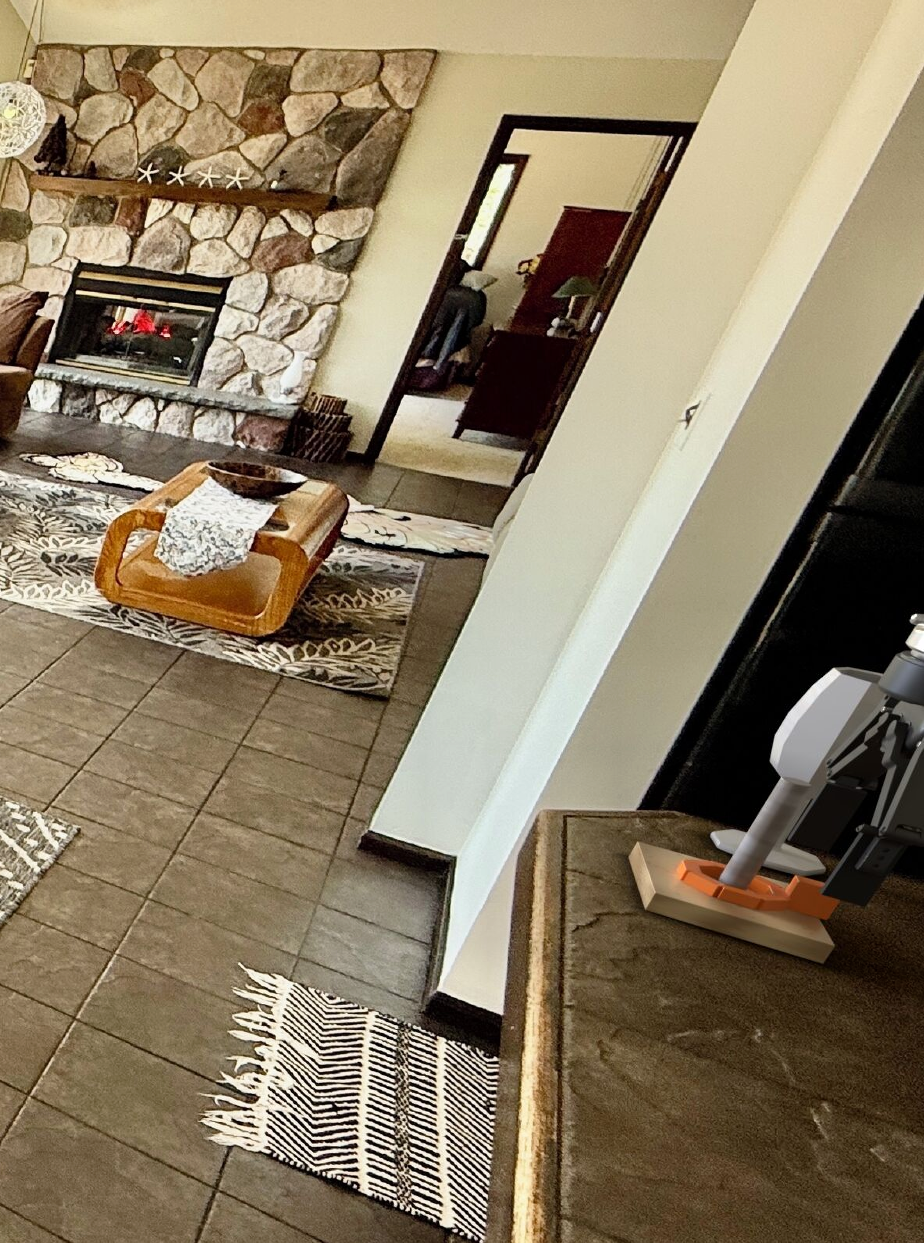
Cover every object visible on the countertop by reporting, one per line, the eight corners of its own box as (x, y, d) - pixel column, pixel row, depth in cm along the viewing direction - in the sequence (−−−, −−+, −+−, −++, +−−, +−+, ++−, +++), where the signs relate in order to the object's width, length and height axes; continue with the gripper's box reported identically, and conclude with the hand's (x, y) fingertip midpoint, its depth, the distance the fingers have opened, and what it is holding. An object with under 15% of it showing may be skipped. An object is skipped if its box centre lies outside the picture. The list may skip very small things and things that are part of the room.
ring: (815, 902, 113) (833, 875, 111) (834, 933, 107) (852, 905, 106) (672, 861, 118) (687, 836, 117) (683, 889, 113) (699, 862, 112)
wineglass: (829, 865, 125) (947, 686, 116) (815, 886, 120) (936, 701, 112) (716, 829, 131) (820, 656, 123) (699, 847, 126) (806, 669, 118)
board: (789, 903, 116) (870, 780, 110) (823, 964, 106) (913, 831, 100) (628, 857, 123) (696, 738, 117) (644, 909, 113) (720, 782, 107)
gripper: (864, 619, 112) (743, 811, 120) (945, 686, 94) (796, 906, 102) (982, 642, 107) (848, 839, 116) (1091, 717, 89) (923, 944, 98)
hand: (823, 871), depth 109 cm, fingers open, 13 cm apart
